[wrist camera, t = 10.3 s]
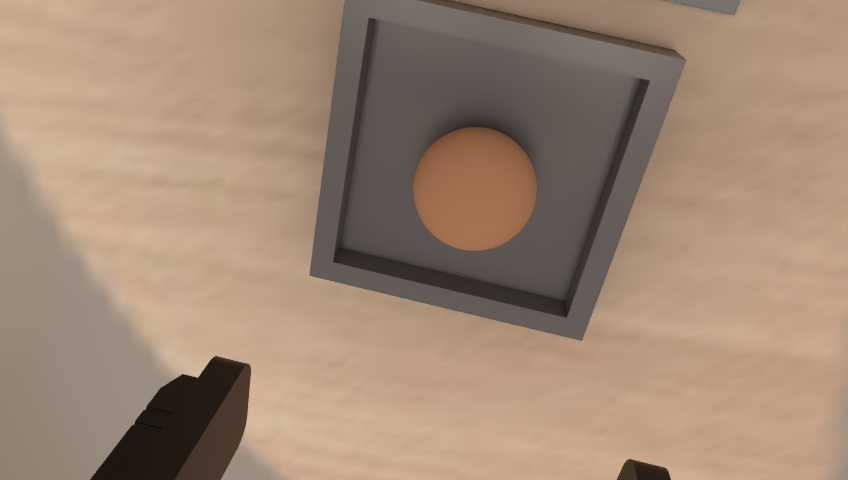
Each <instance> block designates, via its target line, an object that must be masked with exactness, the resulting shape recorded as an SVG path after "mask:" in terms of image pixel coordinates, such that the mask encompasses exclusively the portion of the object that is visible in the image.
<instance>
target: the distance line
mask: <svg viewBox="0 0 848 480" xmlns="http://www.w3.org/2000/svg"><path fill="white" fill-rule="evenodd" d="M666 1H670V2H675V3H679V4H684V5H689V6H693V7H698V8H702V9H707V10H711V11H716V12H720V13H725V14H730V15H735V13H736V10H737V8H738V5H739V3H740V0H666Z"/></svg>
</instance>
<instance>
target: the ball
mask: <svg viewBox="0 0 848 480" xmlns="http://www.w3.org/2000/svg"><path fill="white" fill-rule="evenodd" d="M413 195H414V202H415V206H416V209H417V212H418V214H419V216H420V218H421V220H422V222H423V223H424V225H425V226H426V228H427V229H428V230H429V231H430V232H431V233H432V234H433V235H434V236H435V237H436V238H438V239H439V240H441V241H442V242H444V243H446V244H448V245H450V246H452V247H455V248H458V249H462V250H468V251H481V250H487V249H492V248H495V247H498V246H500V245H502V244H504V243H506V242H507V241H509V240H511V239H512V238H513V237H514V236H516V235H517V234H518V233H519V232H520V231H521V230H522V229H523V227H524V226H525V225H526V223H527V222H528V220H529V218H530V216H531V214H532V212H533V209H534V206H535V202H536V196H537V180H536V176H535V171H534V168H533V165H532V163H531V161H530V159H529V157H528V156H527V154H526V153H525V152H524V150H523V149H522V148H521V147H520V146H519V145H518V144H517V143H516V142H515V141H514V140H513V139H511V138H510V137H508V136H507V135H505V134H503V133H501V132H499V131H496V130H493V129H489V128H483V127H468V128H462V129H458V130H455V131H453V132H450V133H448V134H446V135H444V136H443V137H441V138H440V139H438V140H437V141H436V142H435V143H433V144H432V145H431V146H430V147H429V149H428V150H427V151H426V152H425V154H424V155H423V157H422V159H421V160H420V162H419V164H418V167H417V170H416V173H415V177H414V184H413Z"/></svg>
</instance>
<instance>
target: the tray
mask: <svg viewBox="0 0 848 480" xmlns="http://www.w3.org/2000/svg"><path fill="white" fill-rule="evenodd" d="M685 62H686V59H684V58H683V57H682V56H681V55H680V54H679V53H677V52H676V51H675V50H670V49H666V48H661V47H657V46H652V45H648V44H643V43H639V42H634V41H630V40H625V39H621V38H616V37H612V36H607V35H603V34H598V33H594V32H589V31H585V30H580V29H576V28H571V27H567V26H562V25H558V24H553V23H549V22H544V21H540V20H535V19H531V18H526V17H522V16H517V15H513V14H508V13H504V12H499V11H494V10H490V9H485V8H481V7H476V6H472V5H467V4H463V3H458V2H454V1H449V0H345V4H344V12H343V19H342V27H341V35H340V43H339V50H338V58H337V66H336V74H335V81H334V89H333V97H332V105H331V112H330V120H329V128H328V136H327V144H326V151H325V159H324V167H323V175H322V182H321V190H320V198H319V206H318V213H317V221H316V229H315V237H314V244H313V252H312V260H311V268H310V275H309V276H313V277H318V278H322V279H326V280H330V281H334V282H338V283H343V284H347V285H351V286H355V287H359V288H363V289H368V290H372V291H376V292H380V293H384V294H389V295H393V296H397V297H401V298H405V299H409V300H414V301H418V302H422V303H426V304H430V305H435V306H439V307H443V308H447V309H451V310H455V311H460V312H464V313H468V314H472V315H476V316H480V317H485V318H489V319H493V320H497V321H501V322H506V323H510V324H514V325H518V326H522V327H526V328H531V329H535V330H539V331H543V332H547V333H552V334H556V335H560V336H564V337H568V338H572V339H577V340H581V341H582V339H583V336H584V334H585V331H586V328H587V326H588V323H589V320H590V318H591V315H592V312H593V310H594V307H595V304H596V302H597V299H598V296H599V293H600V291H601V288H602V285H603V283H604V280H605V277H606V275H607V272H608V269H609V267H610V264H611V261H612V258H613V256H614V253H615V250H616V248H617V245H618V242H619V240H620V237H621V234H622V232H623V229H624V226H625V223H626V221H627V218H628V215H629V213H630V210H631V207H632V205H633V202H634V199H635V197H636V194H637V191H638V188H639V186H640V183H641V180H642V178H643V175H644V172H645V170H646V167H647V164H648V162H649V159H650V156H651V153H652V151H653V148H654V145H655V143H656V140H657V137H658V135H659V132H660V129H661V127H662V124H663V121H664V118H665V116H666V113H667V110H668V108H669V105H670V102H671V100H672V97H673V94H674V92H675V89H676V86H677V83H678V81H679V78H680V75H681V73H682V70H683V67H684V65H685ZM468 127H483V128H489V129H493V130H496V131H499V132H501V133H503V134H505V135H507V136H508V137H510V138H511V139H513V140H514V141H515V142H516V143H517V144H518V145H519V146H520V147H521V148H522V149H523V150H524V152H525V153H526V154H527V156H528V157H529V159H530V161H531V163H532V165H533V168H534V171H535V176H536V180H537V196H536V202H535V206H534V209H533V212H532V214H531V216H530V218H529V220H528V222H527V223H526V225H525V226H524V227H523V229H522V230H521V231H520V232H519V233H518V234H517V235H516V236H514V237H513V238H512V239H511V240H509V241H507V242H506V243H504V244H502V245H500V246H498V247H495V248H492V249H487V250H481V251H468V250H462V249H458V248H455V247H452V246H450V245H448V244H446V243H444V242H442V241H441V240H439V239H438V238H436V237H435V236H434V235H433V234H432V233H431V232H430V231H429V230H428V229H427V228H426V226H425V225H424V223H423V222H422V220H421V218H420V216H419V214H418V212H417V209H416V206H415V202H414V195H413V184H414V177H415V173H416V170H417V167H418V164H419V162H420V160H421V159H422V157H423V155H424V154H425V152H426V151H427V150H428V149H429V147H430V146H431V145H432V144H433V143H435V142H436V141H437V140H438V139H440V138H441V137H443V136H444V135H446V134H448V133H450V132H453V131H455V130H458V129H462V128H468Z"/></svg>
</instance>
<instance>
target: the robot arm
mask: <svg viewBox="0 0 848 480" xmlns="http://www.w3.org/2000/svg"><path fill="white" fill-rule="evenodd" d="M250 376H251V367H250V365H249V364H246V363H242V362H238V361H234V360H230V359H226V358H221V357H217V356H215V357H213V358H212V359H211V360H210V362H209V363H208V365H207V366H206V367H205V369H204V370H203V372H202V373H201V375H200V376H199V377H198V378H196V377H192V376H188V375H184V374H182V375H181V376H179V377H177V378H176V379H174V380H173V381H171V382H169V383H168V384H166V385H165V386H163V387H161V388H160V390H159V391H158V392H157V393H156V395H155V396H154V398H153V399H152V400H151V401H150V403H149V404H148V405H147V408H146V410H143V412H142V413H141V414H140V416H139V417H138V418H137V419H136V421H135V424H134V425H132V426H131V427H130V429H129V430H128V431H127V432H126V434H125V435H124V436H123V438H122V439H121V440H120V442H119V443H118V444H117V446H116V447H115V448H114V449H113V451H112V452H111V453H110V455H109V456H108V457H107V459H106V460H105V461H104V463H103V464H102V465H101V466H100V468H99V469H98V470H97V471H96V473H95V474H94V475H93V477H92V478H91V479H90V480H221V478H222V476H223V474H224V472H225V471H226V469H227V467H228V465H229V463H230V461H231V459H232V457H233V456H234V454H235V452H236V450H237V448H238V446H239V444H240V442H241V439H242V436H243V433H244V430H245V426H246V421H247V411H248V399H249V388H250ZM617 480H671V479H670V475H669V472H668V470H667V469H666V468H664V467H660V466H656V465H652V464H648V463H644V462H640V461H636V460H631V459H628V460H627V461H626V462H625V463H624V465H623V467H622V469H621V472H620V474H619V476H618V478H617Z"/></svg>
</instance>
